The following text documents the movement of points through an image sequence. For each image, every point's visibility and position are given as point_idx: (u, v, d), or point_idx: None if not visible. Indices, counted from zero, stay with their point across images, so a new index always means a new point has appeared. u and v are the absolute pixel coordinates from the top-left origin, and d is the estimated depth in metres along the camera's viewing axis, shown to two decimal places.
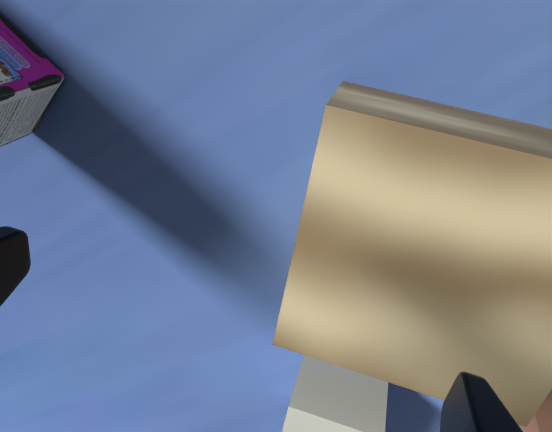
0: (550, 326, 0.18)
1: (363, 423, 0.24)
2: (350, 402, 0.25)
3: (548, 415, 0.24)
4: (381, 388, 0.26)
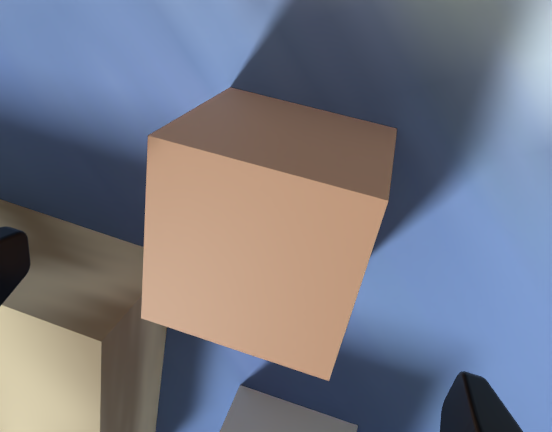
0: None
1: None
2: None
3: None
4: None
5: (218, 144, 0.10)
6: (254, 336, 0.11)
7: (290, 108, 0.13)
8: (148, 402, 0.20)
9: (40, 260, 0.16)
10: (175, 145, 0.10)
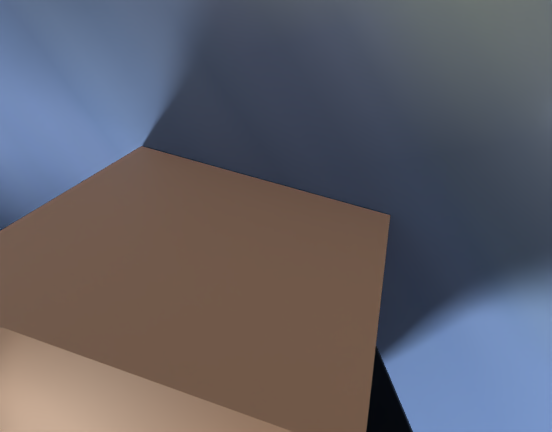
0: None
1: None
2: None
3: None
4: None
5: (43, 301, 0.05)
6: None
7: (224, 186, 0.08)
8: None
9: None
10: None
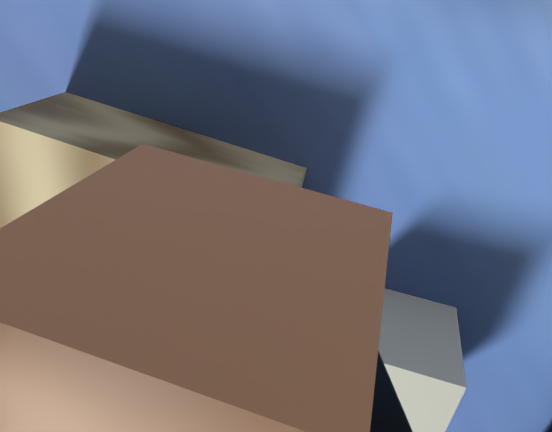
0: None
1: None
2: None
3: None
4: None
5: (45, 298, 0.05)
6: None
7: (225, 183, 0.08)
8: None
9: (207, 161, 0.19)
10: None
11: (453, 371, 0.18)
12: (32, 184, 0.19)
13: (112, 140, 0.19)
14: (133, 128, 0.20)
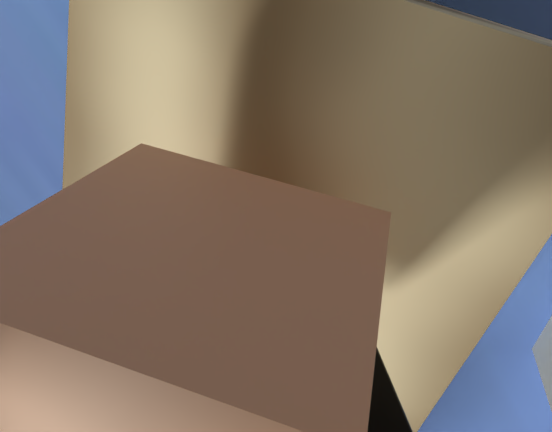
0: (344, 58, 0.10)
1: None
2: None
3: None
4: None
5: (42, 298, 0.05)
6: None
7: (224, 182, 0.08)
8: None
9: (450, 11, 0.11)
10: None
11: None
12: (142, 37, 0.11)
13: None
14: None
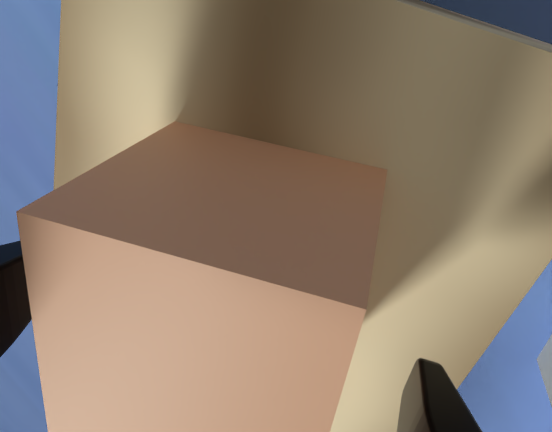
0: (347, 64, 0.09)
1: None
2: None
3: None
4: None
5: (121, 220, 0.07)
6: None
7: (247, 149, 0.10)
8: None
9: (457, 16, 0.10)
10: (55, 225, 0.07)
11: None
12: (137, 39, 0.10)
13: None
14: None
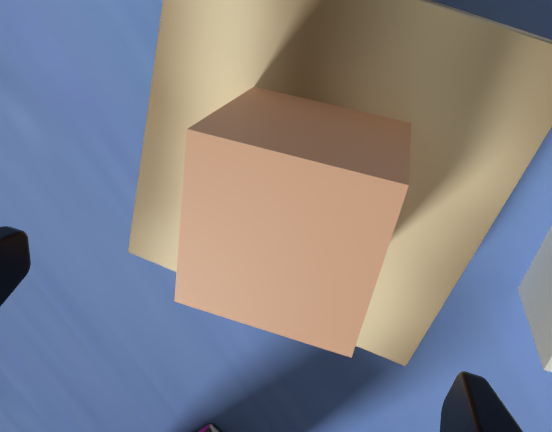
0: (371, 41, 0.13)
1: None
2: None
3: None
4: None
5: (250, 136, 0.11)
6: (281, 316, 0.12)
7: (310, 105, 0.14)
8: None
9: (449, 8, 0.14)
10: (212, 137, 0.10)
11: None
12: (218, 25, 0.14)
13: None
14: None
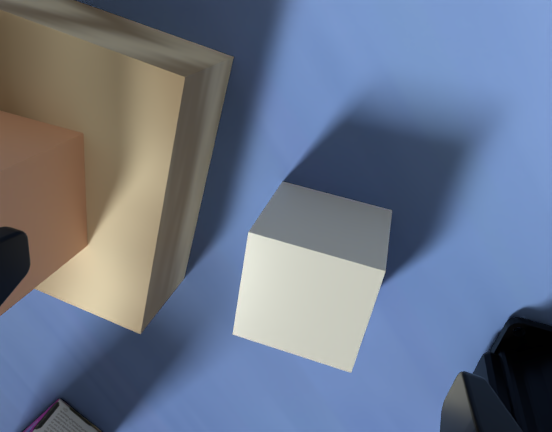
0: (35, 62, 0.16)
1: None
2: None
3: None
4: None
5: None
6: None
7: None
8: (192, 208, 0.22)
9: (120, 33, 0.17)
10: None
11: (374, 257, 0.17)
12: None
13: (16, 2, 0.17)
14: (46, 0, 0.18)
